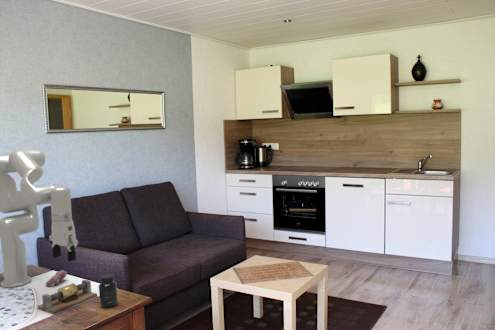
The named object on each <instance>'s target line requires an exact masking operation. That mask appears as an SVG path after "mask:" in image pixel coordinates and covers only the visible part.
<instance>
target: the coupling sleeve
mask: <svg viewBox="0 0 495 330" xmlns="http://www.w3.org/2000/svg"><path fill="white" fill-rule="evenodd" d="M76 285H77V284H75V283H71V284H67V285H65V286H62V287H60V288H58V289H57V292H56V293H58V292H60V294H61V298H59V299H60V300H65V299H68V298H70V297H72V296H75V295H77V294H78V288H77V286H76Z"/></svg>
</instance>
